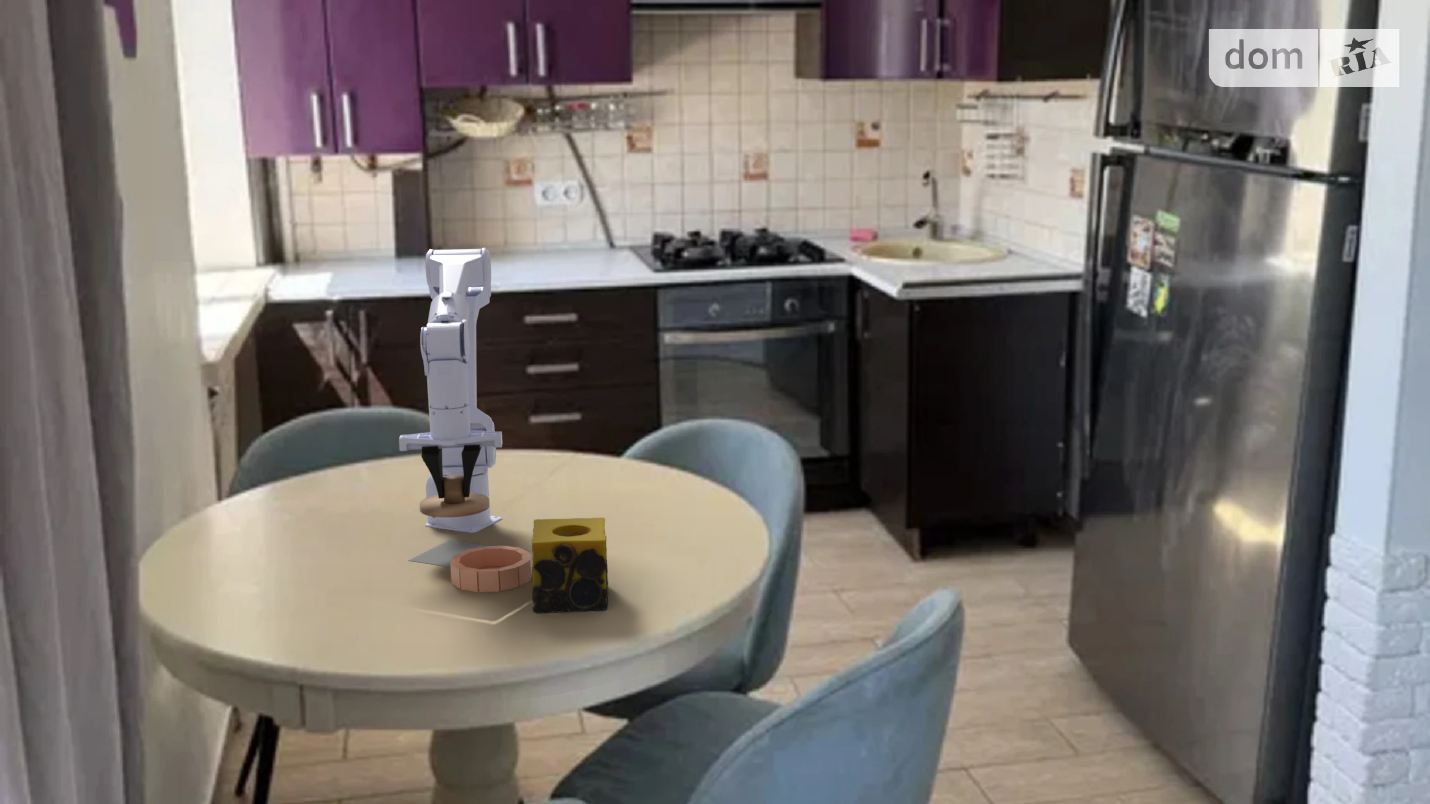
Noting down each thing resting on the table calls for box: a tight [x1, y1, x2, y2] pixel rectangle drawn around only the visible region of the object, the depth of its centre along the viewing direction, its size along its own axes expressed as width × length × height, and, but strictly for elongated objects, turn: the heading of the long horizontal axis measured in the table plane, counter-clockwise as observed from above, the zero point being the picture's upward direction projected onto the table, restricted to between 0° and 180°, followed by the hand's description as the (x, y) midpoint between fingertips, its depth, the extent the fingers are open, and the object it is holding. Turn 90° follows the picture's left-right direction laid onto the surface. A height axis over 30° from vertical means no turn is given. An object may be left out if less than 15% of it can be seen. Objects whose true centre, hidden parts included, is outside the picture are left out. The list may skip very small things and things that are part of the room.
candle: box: [531, 517, 609, 614], centre depth 184 cm, size 10×10×10 cm
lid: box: [419, 475, 490, 518], centre depth 200 cm, size 10×10×5 cm
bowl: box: [449, 545, 533, 593], centre depth 192 cm, size 11×11×3 cm
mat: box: [408, 539, 486, 568], centre depth 202 cm, size 10×10×1 cm
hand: (454, 496), depth 200 cm, fingers closed on lid, 3 cm apart
